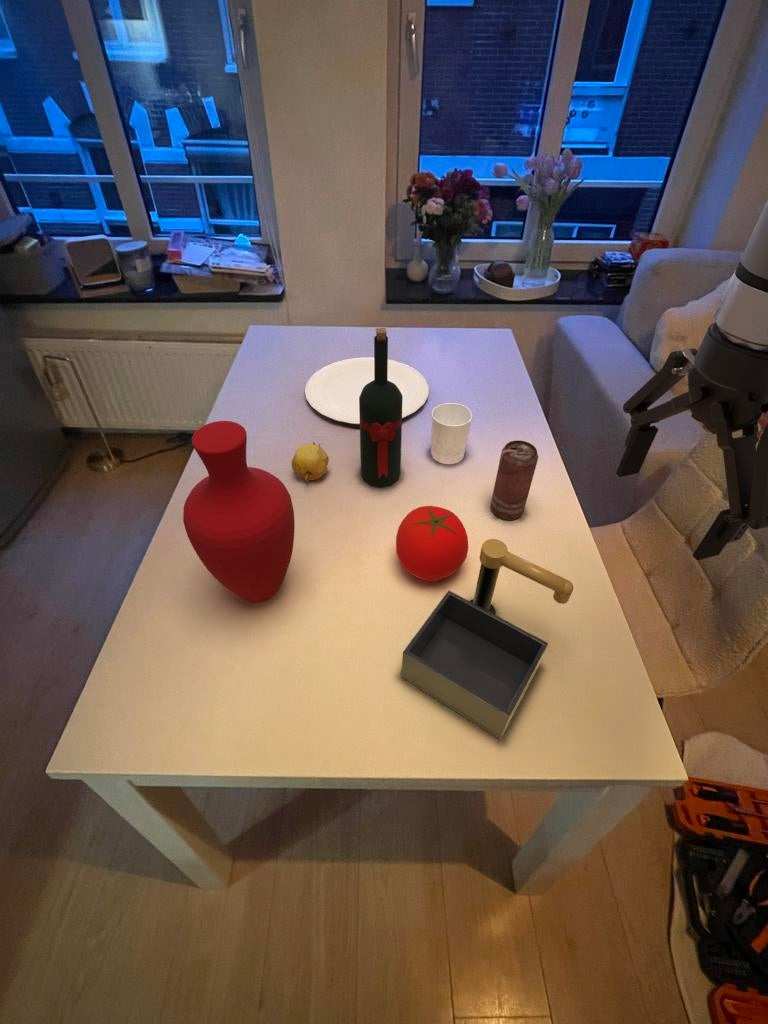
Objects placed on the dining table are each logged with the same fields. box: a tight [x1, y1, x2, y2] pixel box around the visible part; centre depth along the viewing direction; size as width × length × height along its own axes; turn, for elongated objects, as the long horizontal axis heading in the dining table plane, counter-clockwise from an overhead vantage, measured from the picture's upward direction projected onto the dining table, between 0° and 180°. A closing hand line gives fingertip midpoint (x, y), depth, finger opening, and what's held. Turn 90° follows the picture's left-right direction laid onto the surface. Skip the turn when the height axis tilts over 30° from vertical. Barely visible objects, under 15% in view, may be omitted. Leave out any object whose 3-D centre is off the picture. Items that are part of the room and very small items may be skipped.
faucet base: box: [469, 562, 501, 616], centre depth 76 cm, size 5×5×13 cm
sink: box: [401, 590, 549, 740], centre depth 72 cm, size 12×15×7 cm
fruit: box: [291, 441, 330, 484], centre depth 102 cm, size 7×7×10 cm
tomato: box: [395, 505, 469, 582], centre depth 84 cm, size 12×12×10 cm
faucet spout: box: [479, 538, 574, 604], centre depth 69 cm, size 13×3×3 cm, turn 55°
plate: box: [304, 356, 430, 425], centre depth 124 cm, size 29×29×2 cm
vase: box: [182, 420, 296, 604], centre depth 74 cm, size 15×15×30 cm
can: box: [489, 440, 539, 521], centre depth 92 cm, size 6×6×14 cm
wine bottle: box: [359, 327, 403, 489], centre depth 93 cm, size 8×10×30 cm
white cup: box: [430, 402, 473, 465], centre depth 105 cm, size 8×8×10 cm
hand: (663, 511), depth 59 cm, fingers open, 13 cm apart
